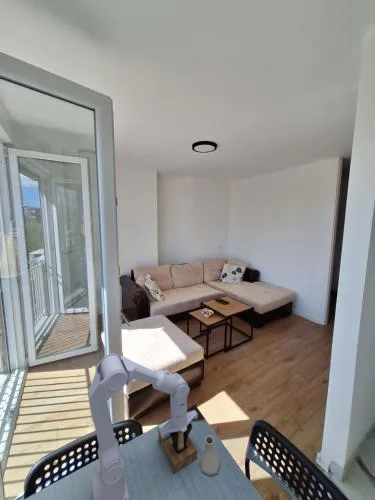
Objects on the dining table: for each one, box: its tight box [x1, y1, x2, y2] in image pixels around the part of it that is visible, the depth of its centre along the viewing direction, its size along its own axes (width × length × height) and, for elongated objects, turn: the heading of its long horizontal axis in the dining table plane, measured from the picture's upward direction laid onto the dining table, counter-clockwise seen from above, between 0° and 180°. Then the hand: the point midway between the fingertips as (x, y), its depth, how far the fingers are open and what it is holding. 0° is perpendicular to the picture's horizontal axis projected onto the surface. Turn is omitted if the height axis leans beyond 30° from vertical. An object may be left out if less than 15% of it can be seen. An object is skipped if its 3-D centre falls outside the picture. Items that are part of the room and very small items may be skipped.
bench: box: [157, 418, 171, 449], centre depth 86 cm, size 9×4×6 cm, turn 121°
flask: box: [198, 434, 221, 477], centre depth 76 cm, size 7×7×10 cm
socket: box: [162, 435, 198, 474], centre depth 80 cm, size 9×9×4 cm
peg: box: [175, 431, 184, 455], centre depth 80 cm, size 3×3×8 cm
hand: (179, 443), depth 80 cm, fingers closed on peg, 3 cm apart
